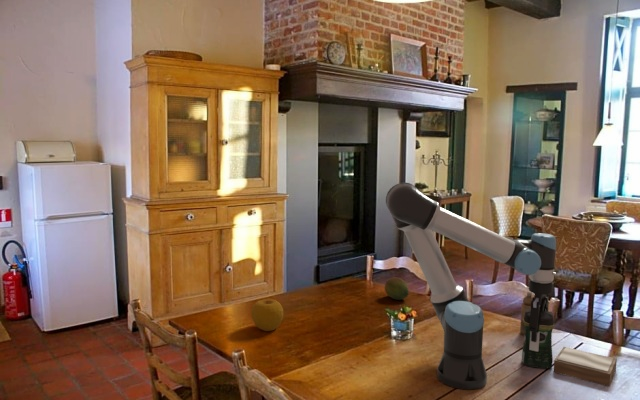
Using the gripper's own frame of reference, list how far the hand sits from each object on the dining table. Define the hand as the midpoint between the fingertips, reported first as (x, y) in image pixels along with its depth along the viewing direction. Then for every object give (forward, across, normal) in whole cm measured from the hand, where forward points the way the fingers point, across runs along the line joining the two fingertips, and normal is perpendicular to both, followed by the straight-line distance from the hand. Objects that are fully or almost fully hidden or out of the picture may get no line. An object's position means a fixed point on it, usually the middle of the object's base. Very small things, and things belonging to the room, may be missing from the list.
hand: (537, 345), depth 170 cm
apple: (+7, -32, +94) cm, 100 cm away
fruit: (+7, +35, +72) cm, 80 cm away
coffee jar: (+7, 0, 0) cm, 7 cm away
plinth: (+6, +4, -14) cm, 16 cm away
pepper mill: (+6, +26, +10) cm, 29 cm away
